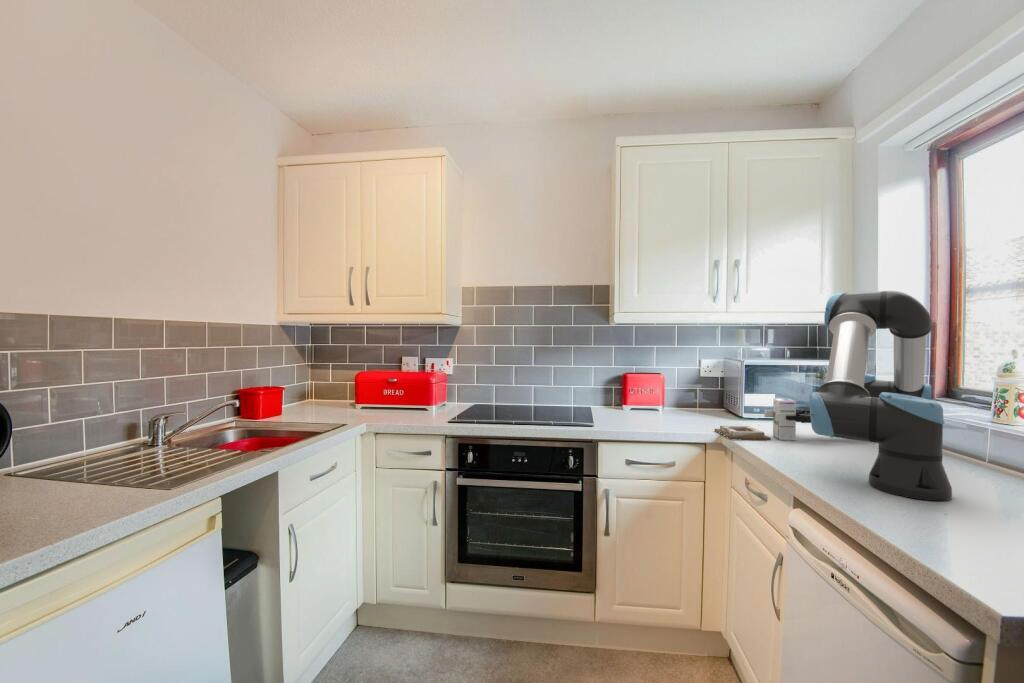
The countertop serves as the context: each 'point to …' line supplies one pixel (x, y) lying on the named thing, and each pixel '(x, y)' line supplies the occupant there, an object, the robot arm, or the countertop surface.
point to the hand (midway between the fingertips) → (770, 415)
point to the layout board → (742, 433)
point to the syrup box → (784, 428)
